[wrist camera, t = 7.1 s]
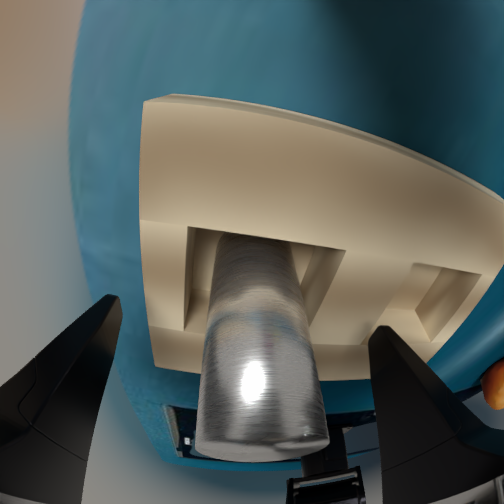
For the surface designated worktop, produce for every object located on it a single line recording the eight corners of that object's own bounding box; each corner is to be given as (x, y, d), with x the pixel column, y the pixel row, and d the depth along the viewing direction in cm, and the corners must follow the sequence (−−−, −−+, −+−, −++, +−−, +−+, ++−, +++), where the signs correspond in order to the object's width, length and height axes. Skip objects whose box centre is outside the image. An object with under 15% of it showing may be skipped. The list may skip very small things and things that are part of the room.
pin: (280, 286, 13) (302, 460, 6) (212, 277, 13) (194, 458, 6) (299, 227, 11) (353, 428, 5) (220, 215, 11) (196, 429, 4)
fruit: (463, 399, 27) (493, 423, 19) (479, 352, 26) (515, 372, 18) (491, 386, 27) (519, 405, 19) (505, 343, 27) (538, 358, 19)
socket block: (401, 340, 17) (415, 373, 15) (165, 322, 15) (155, 366, 13) (492, 191, 10) (527, 219, 8) (172, 93, 8) (143, 101, 6)
